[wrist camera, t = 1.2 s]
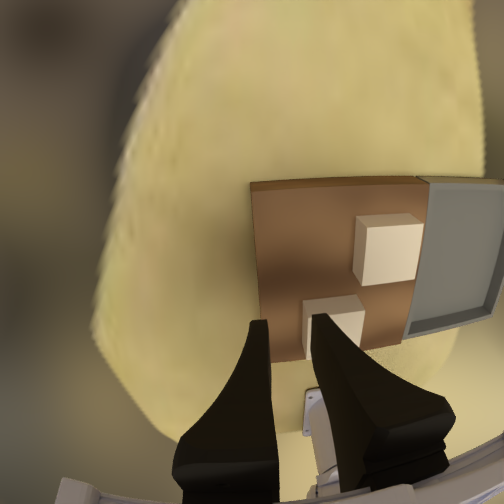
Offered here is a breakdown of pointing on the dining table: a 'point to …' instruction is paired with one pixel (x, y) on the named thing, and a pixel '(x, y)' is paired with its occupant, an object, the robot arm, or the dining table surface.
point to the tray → (459, 255)
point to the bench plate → (327, 253)
